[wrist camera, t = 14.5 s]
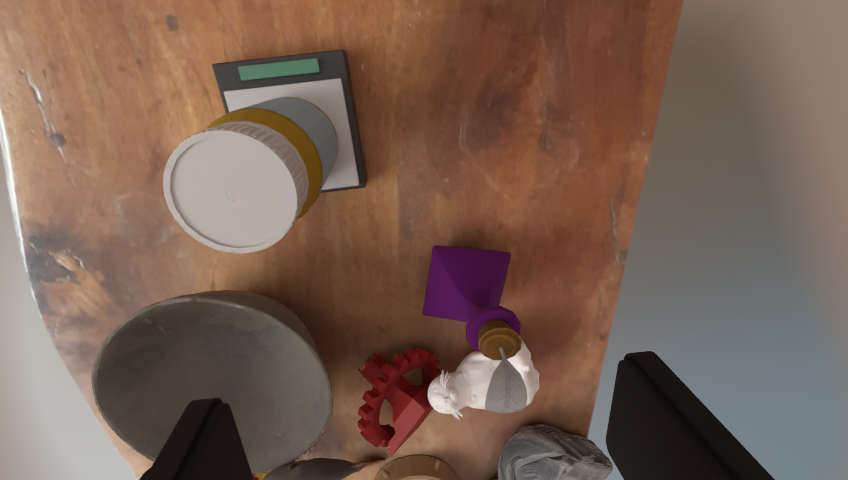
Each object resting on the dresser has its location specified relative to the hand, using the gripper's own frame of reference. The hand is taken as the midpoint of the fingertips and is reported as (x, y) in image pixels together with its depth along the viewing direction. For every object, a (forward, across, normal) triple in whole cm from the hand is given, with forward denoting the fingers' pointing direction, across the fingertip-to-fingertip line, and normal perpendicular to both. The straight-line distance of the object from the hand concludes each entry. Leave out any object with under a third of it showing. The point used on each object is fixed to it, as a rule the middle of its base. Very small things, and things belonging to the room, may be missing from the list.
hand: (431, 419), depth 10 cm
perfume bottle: (+30, -6, +12) cm, 33 cm away
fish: (+24, +13, +32) cm, 42 cm away
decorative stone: (+22, -18, +41) cm, 50 cm away
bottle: (+27, +8, -3) cm, 29 cm away
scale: (+30, +8, -4) cm, 31 cm away
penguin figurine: (+26, -13, +22) cm, 36 cm away
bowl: (+30, +16, +16) cm, 38 cm away
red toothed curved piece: (+25, 0, +26) cm, 36 cm away
